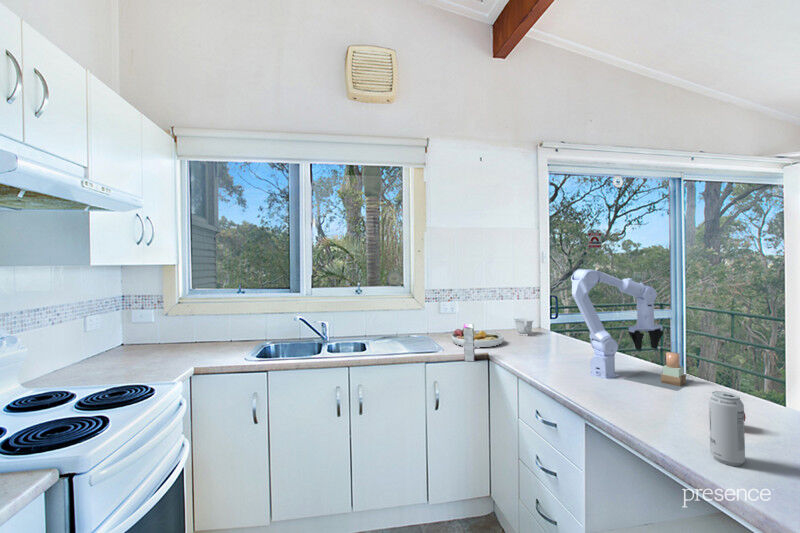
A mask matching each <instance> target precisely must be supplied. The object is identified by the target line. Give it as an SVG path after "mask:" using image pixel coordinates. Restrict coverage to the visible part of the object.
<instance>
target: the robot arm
mask: <svg viewBox="0 0 800 533" xmlns="http://www.w3.org/2000/svg"><path fill="white" fill-rule="evenodd" d="M570 280H571V295H572V298H573V300H574V302H575V304H576V305H577V308H578V310H579V313H580V314H581V316H582V318H583V319H584V322H585V324H586V326H587V328H588V330H589V332H590V333H589V336H588V337H589V339H590V346H591V347H592V349H593V351H594V352H593V353H594V354H593V356H592V357H591V359H590V361H589V362H590V374H588V376H590V377H595V378H599V379H605V380H611V379H613V378H616V377H618V376H620V374H618V373H616V365H615V364H616V361H615V359H616V358H615V357H616V356H615V355H616V353H617V352H618V350H619V345H618V342H617V341H616V340H615V339H614V338H613V337H612V335H611V334H610V333H609V332H608V331H607V330H606V329H605V327H604V325H603V323H602V321H601V318H600V317H599V315H598V312H597V310H596V308H595V307H594V305H593V303H592V301H591V299H590V297H589V293H590V290H592V289H593V288H594V287H595V285H596V284H597V283H604V284H606V285H609V286H613V287H616V288H618V291H619V292H621V293H623V294H625V295H629V296H632V297H634V298H635V299H636V318H637V320H636V321H637V322H636V323H637V325H633V326H628V335H629V336H630V338H631V340H632V343H633V346H634V347H635V350H637V351H641V350H642V349H643V348H642V346H643V339H644V335H645V333H642V332H648V335H649V339H650V348H651V349H655V350H657V349H658V346H659V343H660V340H661V338H662V336H663V335H664V331H663V330H664V329H663V328H664V327H663V325H661V324H655V299H657V297H658V293H657V291H656V289H655V288H654V287H653V286H649V285H644V283H643V282H637V281H634V279H633V278H631V277H629V278H623V279H620V278H618V277H615V276H613V275H611V274H608V273H606V272H603V271H600V270H595V269H592V268H591V269H584V268H579V269H576V270H574V271H573V273H572V275H571V277H570Z"/></svg>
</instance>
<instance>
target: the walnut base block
mask: <svg viewBox="0 0 800 533" xmlns="http://www.w3.org/2000/svg"><path fill="white" fill-rule="evenodd" d="M660 374H661V383H666V384H670V385H675V386H682V385H684V384H685V383H686V379H687V374H684V375H683V376H681V377H679V378H678V377H673V376H668V375H663V373H660Z"/></svg>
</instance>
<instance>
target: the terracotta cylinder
mask: <svg viewBox="0 0 800 533" xmlns="http://www.w3.org/2000/svg"><path fill="white" fill-rule="evenodd" d="M665 358H666V360H665V362H666V363H665V365H666V366H667V367H670V368H680V366H681V364H680V361H681V360H680V353H678V352H675V351H666V354H665Z"/></svg>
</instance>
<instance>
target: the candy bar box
mask: <svg viewBox="0 0 800 533" xmlns="http://www.w3.org/2000/svg"><path fill="white" fill-rule="evenodd" d="M474 325H475V324H474V323H464V324H463V329H464V347H463V352H464V354H463V355H464V356H463V357H464V362H475V356H476V355H475V348H474V331H475V330H474V329H475V326H474ZM463 329H462V330H463Z"/></svg>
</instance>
